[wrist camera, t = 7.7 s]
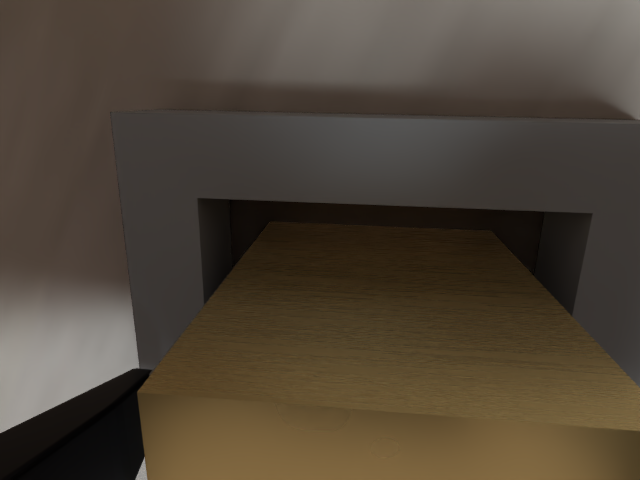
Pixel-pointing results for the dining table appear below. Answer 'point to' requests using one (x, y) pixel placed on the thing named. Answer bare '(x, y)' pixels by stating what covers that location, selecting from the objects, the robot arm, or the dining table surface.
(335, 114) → the gray rectangular tray
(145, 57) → the dining table surface
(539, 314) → the metal-backed wooden cube
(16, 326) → the dining table surface
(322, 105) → the dining table surface
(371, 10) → the dining table surface
